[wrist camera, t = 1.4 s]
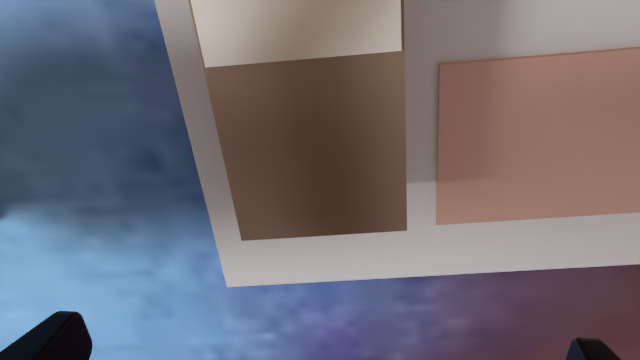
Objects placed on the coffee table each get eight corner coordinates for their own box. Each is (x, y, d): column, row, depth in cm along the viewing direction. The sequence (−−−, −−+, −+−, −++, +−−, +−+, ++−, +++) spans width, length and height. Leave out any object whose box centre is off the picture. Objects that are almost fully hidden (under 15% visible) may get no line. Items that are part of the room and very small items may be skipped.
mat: (228, 279, 26) (226, 290, 25) (143, -65, 18) (136, -62, 17) (695, 253, 24) (704, 263, 24) (831, -137, 16) (849, -135, 16)
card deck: (252, 194, 22) (241, 243, 20) (206, -36, 18) (183, -12, 15) (398, 184, 22) (407, 233, 19) (393, -54, 17) (403, -33, 15)
